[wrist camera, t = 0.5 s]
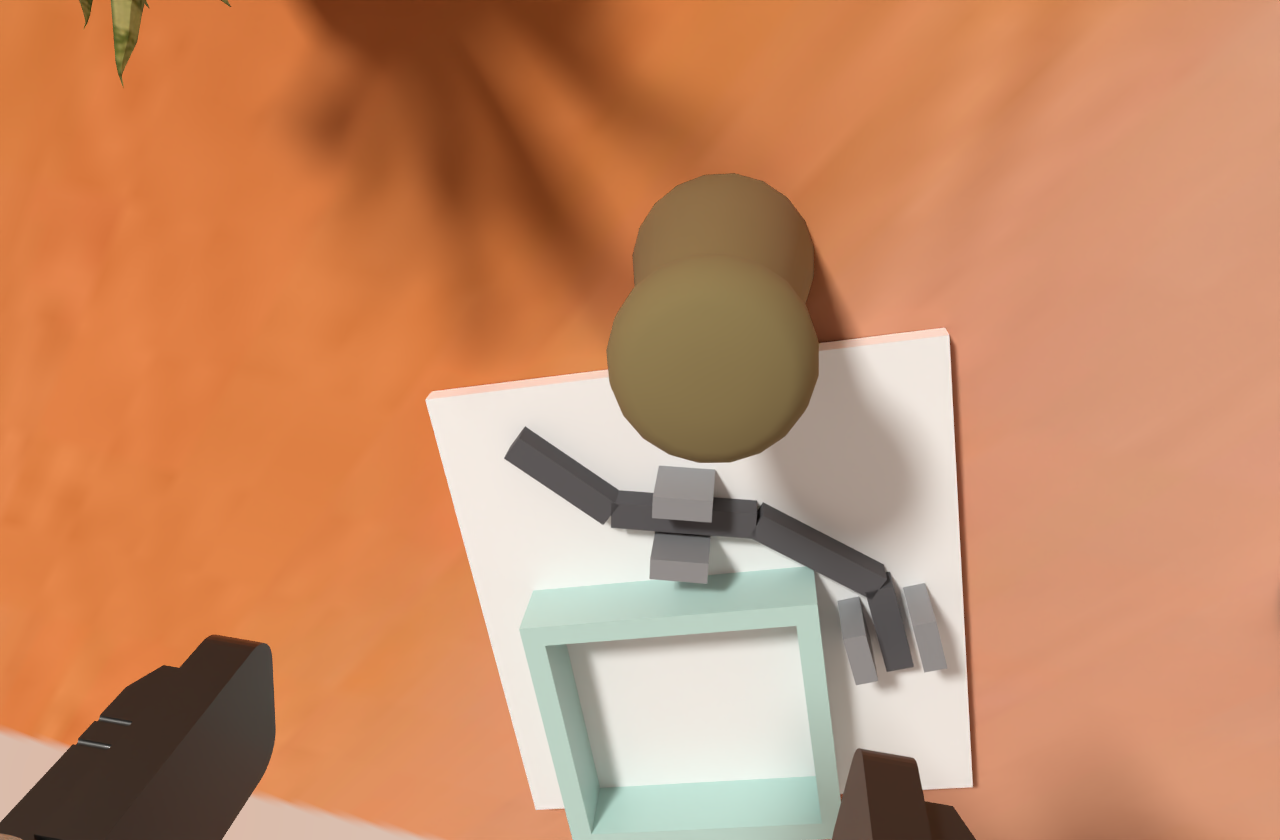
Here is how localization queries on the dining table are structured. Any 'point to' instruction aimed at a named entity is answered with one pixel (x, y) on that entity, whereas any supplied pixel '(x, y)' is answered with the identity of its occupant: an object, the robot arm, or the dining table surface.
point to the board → (732, 660)
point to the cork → (717, 322)
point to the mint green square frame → (687, 812)
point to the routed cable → (724, 533)
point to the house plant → (123, 27)
